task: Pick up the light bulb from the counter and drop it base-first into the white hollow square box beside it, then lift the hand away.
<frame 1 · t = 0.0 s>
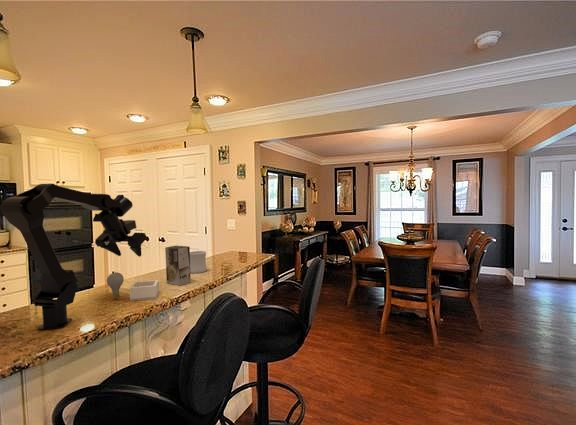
hand: (130, 255, 119), 15 cm above the table, tool tilted 35°, fingers open, 9 cm apart
light bulb: (116, 299, 112), on the table
white hollow square box: (145, 296, 115), on the table
coffee box: (178, 283, 133), on the table
mug: (194, 272, 153), on the table
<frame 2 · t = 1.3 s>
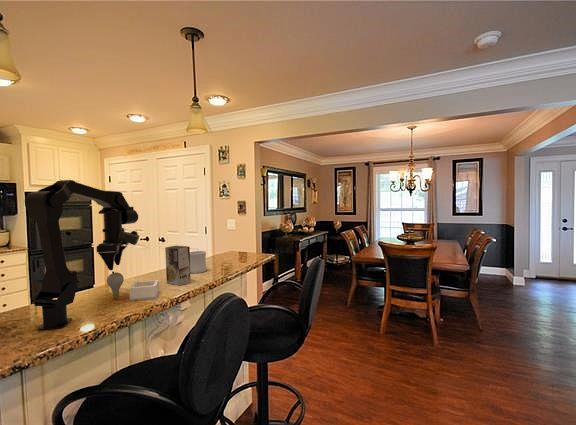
hand: (114, 267, 112), 12 cm above the table, tool pointing down, fingers open, 9 cm apart
nothing on the table moved.
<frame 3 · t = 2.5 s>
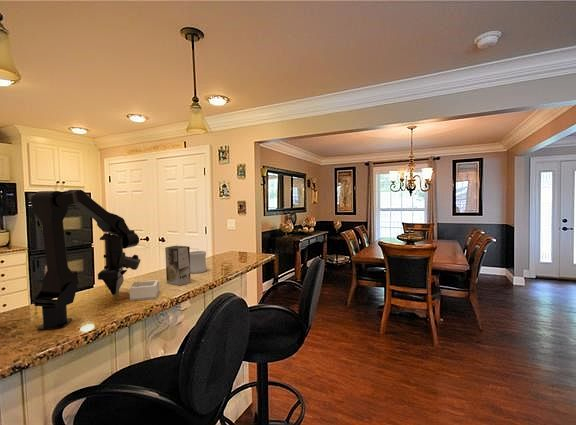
hand: (115, 292, 112), 3 cm above the table, tool pointing down, fingers closed on light bulb, 5 cm apart
light bulb: (116, 299, 112), on the table, touching gripper
everything else where it was.
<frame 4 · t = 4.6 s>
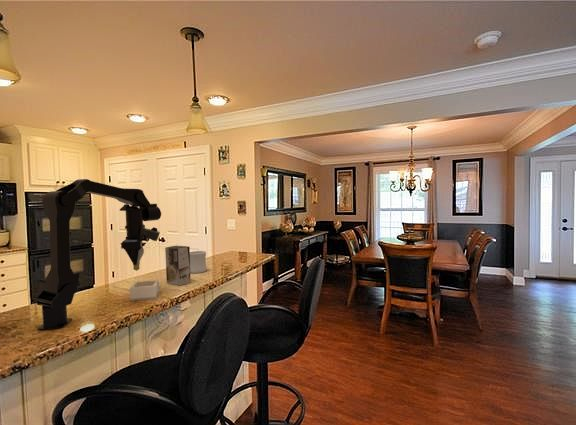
hand: (136, 263, 114), 13 cm above the table, tool pointing down, fingers closed on light bulb, 5 cm apart
light bulb: (136, 271, 114), point 10 cm above the table, touching gripper
everything else where it was.
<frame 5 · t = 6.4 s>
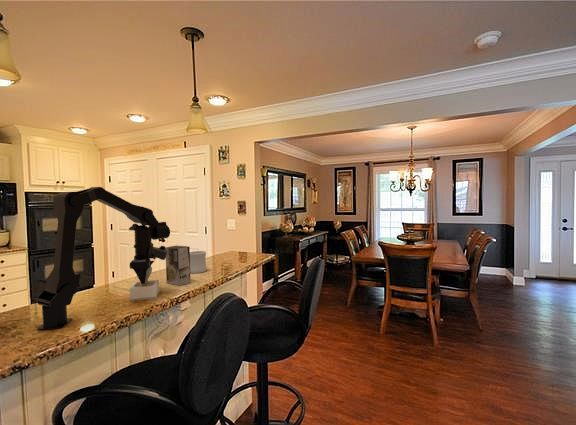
hand: (144, 282, 115), 6 cm above the table, tool pointing down, fingers closed on light bulb, 5 cm apart
light bulb: (144, 289, 115), point 3 cm above the table, touching gripper
everything else where it was.
when the fingers open (5 cm above the table, at t = 6.8 s): light bulb drops 2 cm, resting on white hollow square box.
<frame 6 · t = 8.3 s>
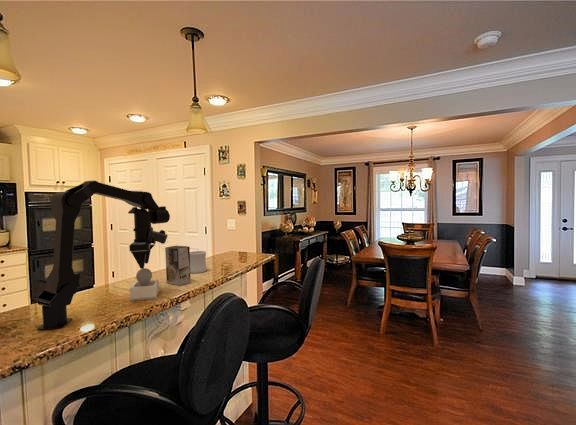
hand: (144, 265, 115), 12 cm above the table, tool pointing down, fingers open, 9 cm apart
light bulb: (144, 294, 115), point 1 cm above the table, touching white hollow square box
everything else where it was.
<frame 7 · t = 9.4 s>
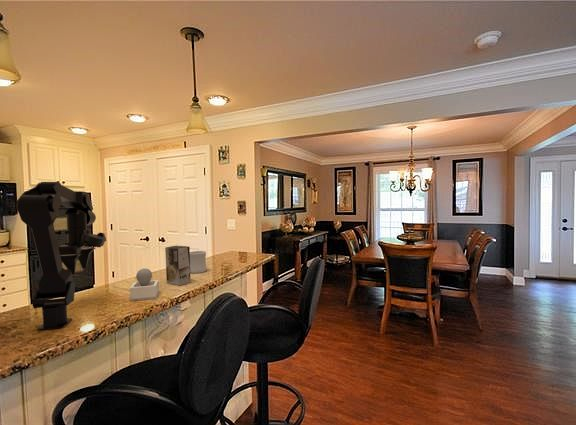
hand: (78, 271, 106), 12 cm above the table, tool pointing down, fingers open, 9 cm apart
nothing on the table moved.
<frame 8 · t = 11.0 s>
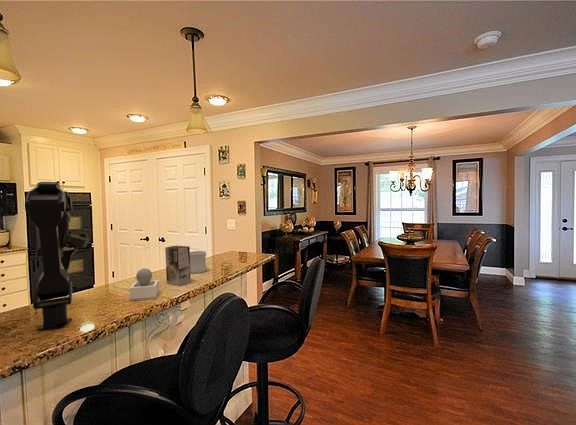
hand: (60, 272, 104), 12 cm above the table, tool pointing down, fingers open, 9 cm apart
nothing on the table moved.
at the end: light bulb 0.4 cm off-centre on the white hollow square box, point 0.6 cm above the white hollow square box's base; light bulb tilted 1°; the gripper is holding nothing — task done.
